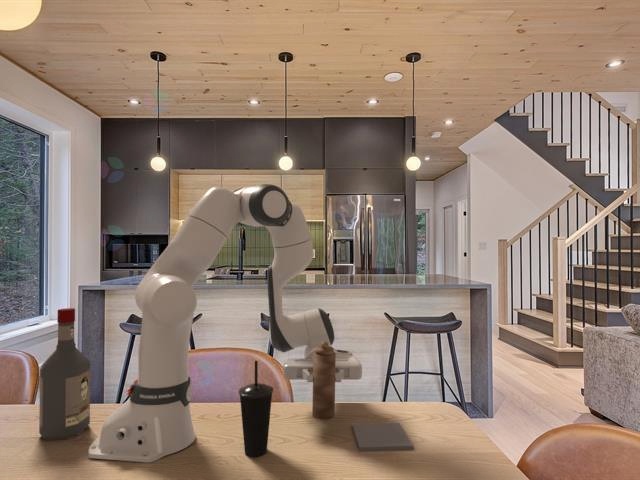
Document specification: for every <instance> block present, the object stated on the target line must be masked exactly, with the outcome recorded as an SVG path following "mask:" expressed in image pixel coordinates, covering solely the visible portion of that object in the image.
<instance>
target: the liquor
mask: <svg viewBox="0 0 640 480" xmlns="http://www.w3.org/2000/svg"><path fill="white" fill-rule="evenodd" d="M75 322H76V308H71V307H69V308H59V309H57V322H56V323H57V328H58V329H57V344H56V347H55V348H56V349H55V350H54V351H53V352H52V353H51V354H50V355H49V357H47V359H46V360H44V362H43V363H42V365H41V367H40V369H39V420H38V421H39V425H38V427H39V430H38V432H39V434H40V436H41V437H42V438H43V440H44V439H45V440H67V439H70V438H69V437H71V438H73V436H74V437H77V436H78V435H79V434H81V433H82V432H83V431H84V430H86V429H87V428H88V427H89V425H90V423H91V422H90V421H91V362H90V359H89V358H88V357H87V356H86V355H85V354H84V353H83V352H82V351H80V350H79V349H78V348H77V347H76V345H77V344H76V342H75ZM66 438H67V439H66Z"/></svg>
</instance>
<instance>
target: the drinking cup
mask: <svg viewBox="0 0 640 480" xmlns="http://www.w3.org/2000/svg"><path fill="white" fill-rule="evenodd" d="M258 366H259V364H258V360H254V382H253V383H249V384H247V385H244V386H242V387H240V388H239V389H238V395H239V399H240V411H241V412H240V413H241V423H242V435H243V436H242V437H243V445H244V446H243V448H244V454H245V456H247V457H250V458H260V457H263V456H264V455H265V454H266V453H267V452H268V442H269V432H270V431H269V430H270V420H271V419H270V418H271V410H272V409H271V408H272V399H273V398H272V396H273V393H274V388H273V386H271V385H269V384H265V383H262V382H259V381H258V380H259V378H258V376H259V375H258V374H259V373H258V371H259V370H258V369H259V367H258Z"/></svg>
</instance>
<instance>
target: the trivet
mask: <svg viewBox="0 0 640 480" xmlns="http://www.w3.org/2000/svg"><path fill="white" fill-rule="evenodd" d="M351 425H352V426H351V427H352V430H353V431H352V432H354V436H355V440H356V443H357V446H358V449H359V450H358V451H360V452H364V451H366V452H367V451H369V452H370V451H393V450H394V451H397V450H399V451H400V450H401V451H403V450H414V445H413V443H412V441H411V440H410V438H409V437H408V435H407V432H406V431H405V430H404V428H403V426H402V425H401V423H400V422H372V423H370V422H369V423H368V422H367V423H366V422H365V423H352V424H351Z"/></svg>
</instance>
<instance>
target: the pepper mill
mask: <svg viewBox="0 0 640 480" xmlns="http://www.w3.org/2000/svg"><path fill="white" fill-rule="evenodd" d="M334 349H335V348H334V347H329V346H328V343H327V342H326V341H323V342H322V343H321V346H319V347H316V351H315V352H314V353H313V382H312V407H311V408H312V410H311V412H312V413H311V414H312V417H313V418H314V419H316V420H318V421H319V420H322V421H329V420H332V419H334V418H335V410H336V409H335V408H336V407H335V406H336V405H335V404H336V399H335V398H336V382H335V362H336V353H335V352H334Z"/></svg>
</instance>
